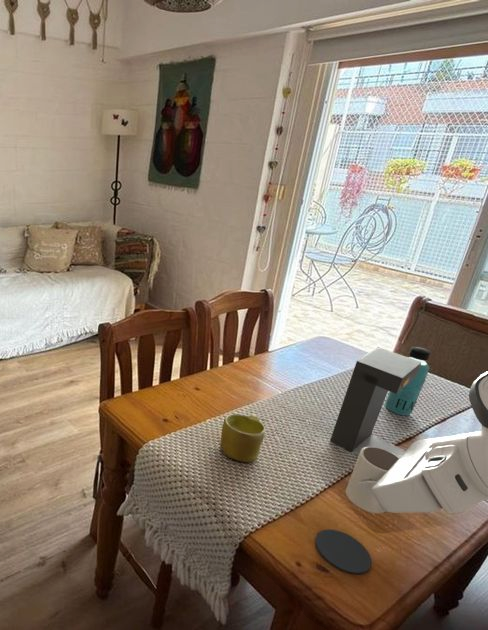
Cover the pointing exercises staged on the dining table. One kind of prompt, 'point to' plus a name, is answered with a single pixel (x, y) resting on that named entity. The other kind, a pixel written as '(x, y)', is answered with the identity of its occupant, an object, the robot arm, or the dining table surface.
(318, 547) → the coaster
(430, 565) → the dining table surface
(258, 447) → the mug
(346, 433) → the coffee maker
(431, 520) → the dining table surface
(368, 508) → the coffee cup
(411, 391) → the beverage bottle
